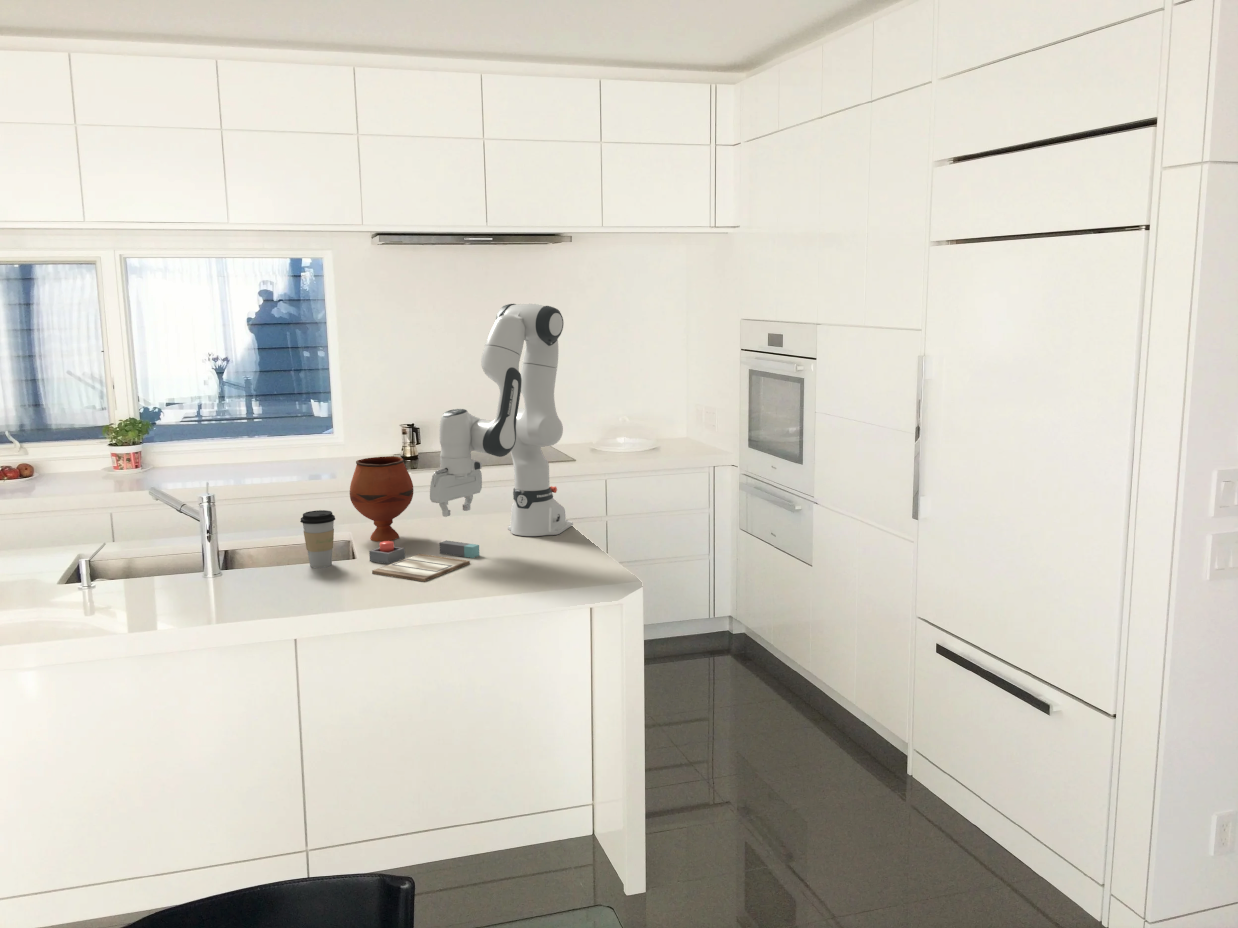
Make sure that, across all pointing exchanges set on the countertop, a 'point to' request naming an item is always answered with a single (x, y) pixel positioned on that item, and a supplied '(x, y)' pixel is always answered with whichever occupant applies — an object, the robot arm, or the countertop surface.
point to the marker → (459, 549)
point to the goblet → (381, 493)
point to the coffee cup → (319, 537)
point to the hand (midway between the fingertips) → (456, 513)
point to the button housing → (387, 555)
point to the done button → (386, 546)
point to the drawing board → (421, 567)
